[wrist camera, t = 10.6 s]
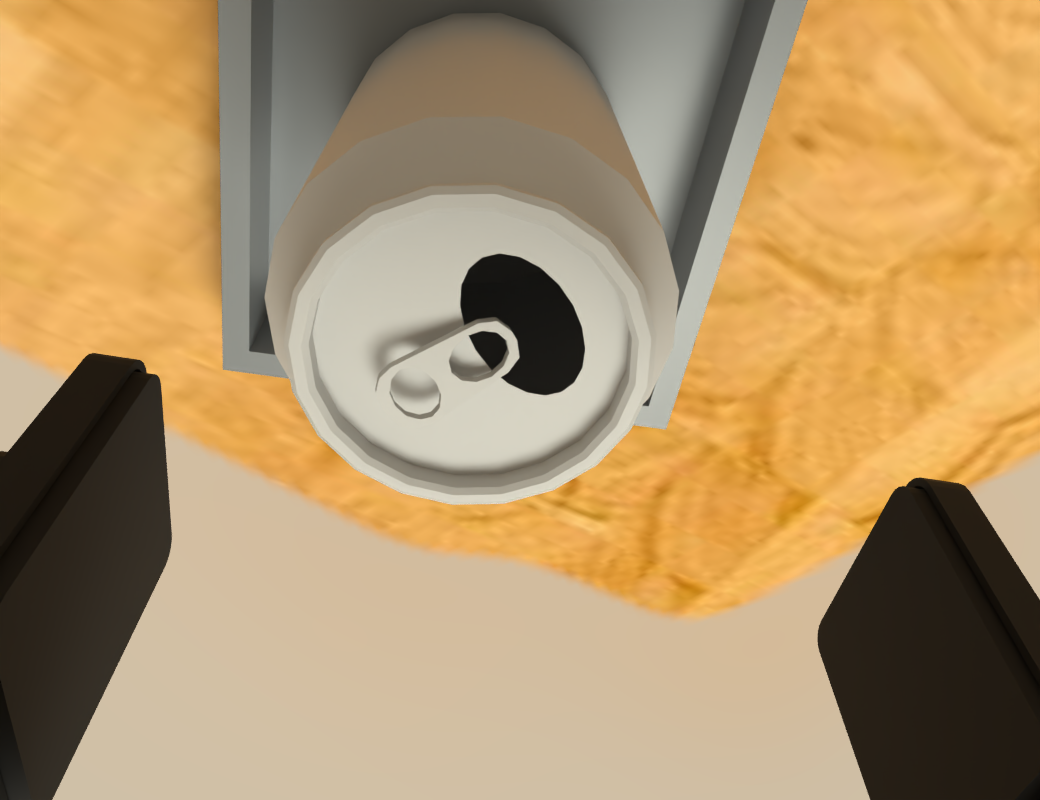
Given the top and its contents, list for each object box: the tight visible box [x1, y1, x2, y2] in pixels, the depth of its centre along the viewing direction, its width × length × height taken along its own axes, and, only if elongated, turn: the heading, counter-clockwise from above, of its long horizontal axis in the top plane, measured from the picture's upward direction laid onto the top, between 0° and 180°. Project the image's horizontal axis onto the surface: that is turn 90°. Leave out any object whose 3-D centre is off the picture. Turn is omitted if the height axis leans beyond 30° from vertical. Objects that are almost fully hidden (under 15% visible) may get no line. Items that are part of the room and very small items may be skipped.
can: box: [264, 13, 679, 505], centre depth 19 cm, size 8×8×12 cm
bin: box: [218, 0, 808, 429], centre depth 24 cm, size 14×14×3 cm
